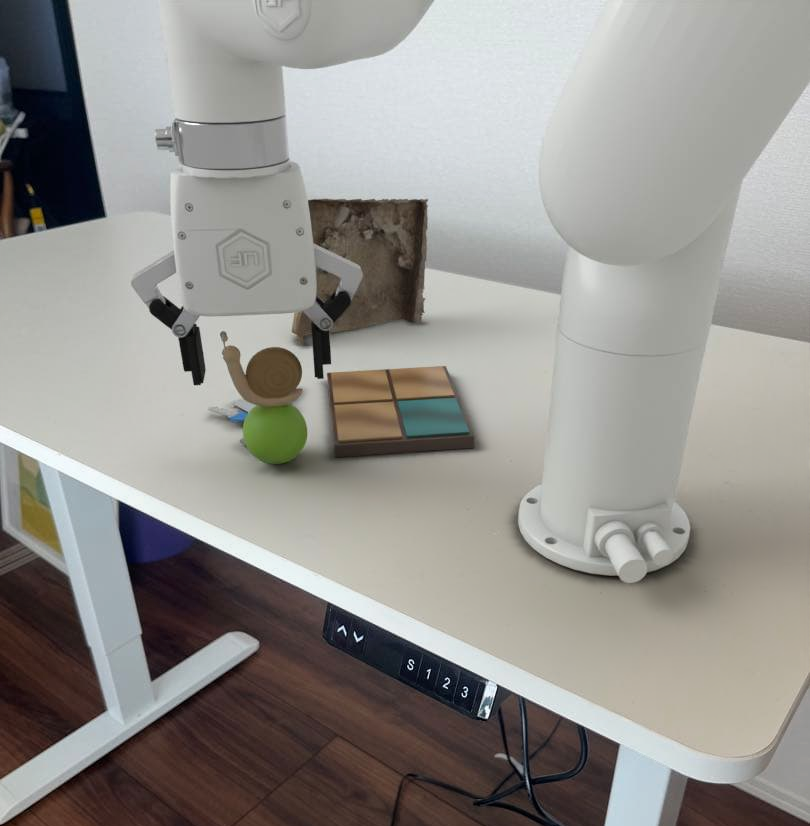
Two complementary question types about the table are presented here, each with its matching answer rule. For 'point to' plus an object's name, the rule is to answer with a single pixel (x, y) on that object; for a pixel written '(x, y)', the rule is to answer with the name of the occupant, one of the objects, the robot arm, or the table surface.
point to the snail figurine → (269, 402)
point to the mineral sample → (372, 258)
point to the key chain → (236, 415)
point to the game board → (396, 412)
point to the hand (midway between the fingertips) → (259, 375)
